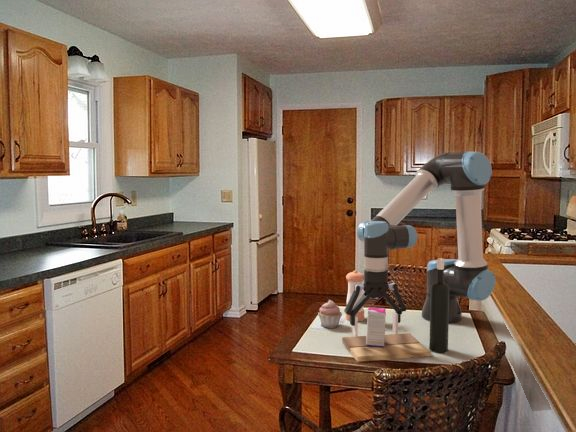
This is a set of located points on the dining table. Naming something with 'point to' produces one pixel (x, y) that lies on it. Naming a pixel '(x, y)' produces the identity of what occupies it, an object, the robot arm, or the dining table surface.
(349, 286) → the peach and white cylinder
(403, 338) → the board
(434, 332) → the wine bottle
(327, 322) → the cupcake
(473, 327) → the dining table surface
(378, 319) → the supplement box
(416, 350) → the laid plank
